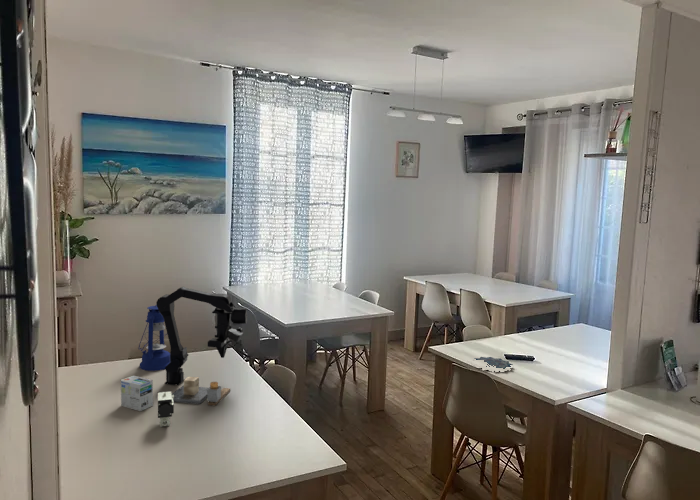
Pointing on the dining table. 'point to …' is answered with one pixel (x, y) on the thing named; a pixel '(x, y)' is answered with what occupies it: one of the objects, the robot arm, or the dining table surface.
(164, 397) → the pneumatic valve
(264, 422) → the dining table surface
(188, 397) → the press bed
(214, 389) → the grey and brass block
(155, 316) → the lantern
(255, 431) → the dining table surface
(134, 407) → the light bulb box
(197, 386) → the housing block
